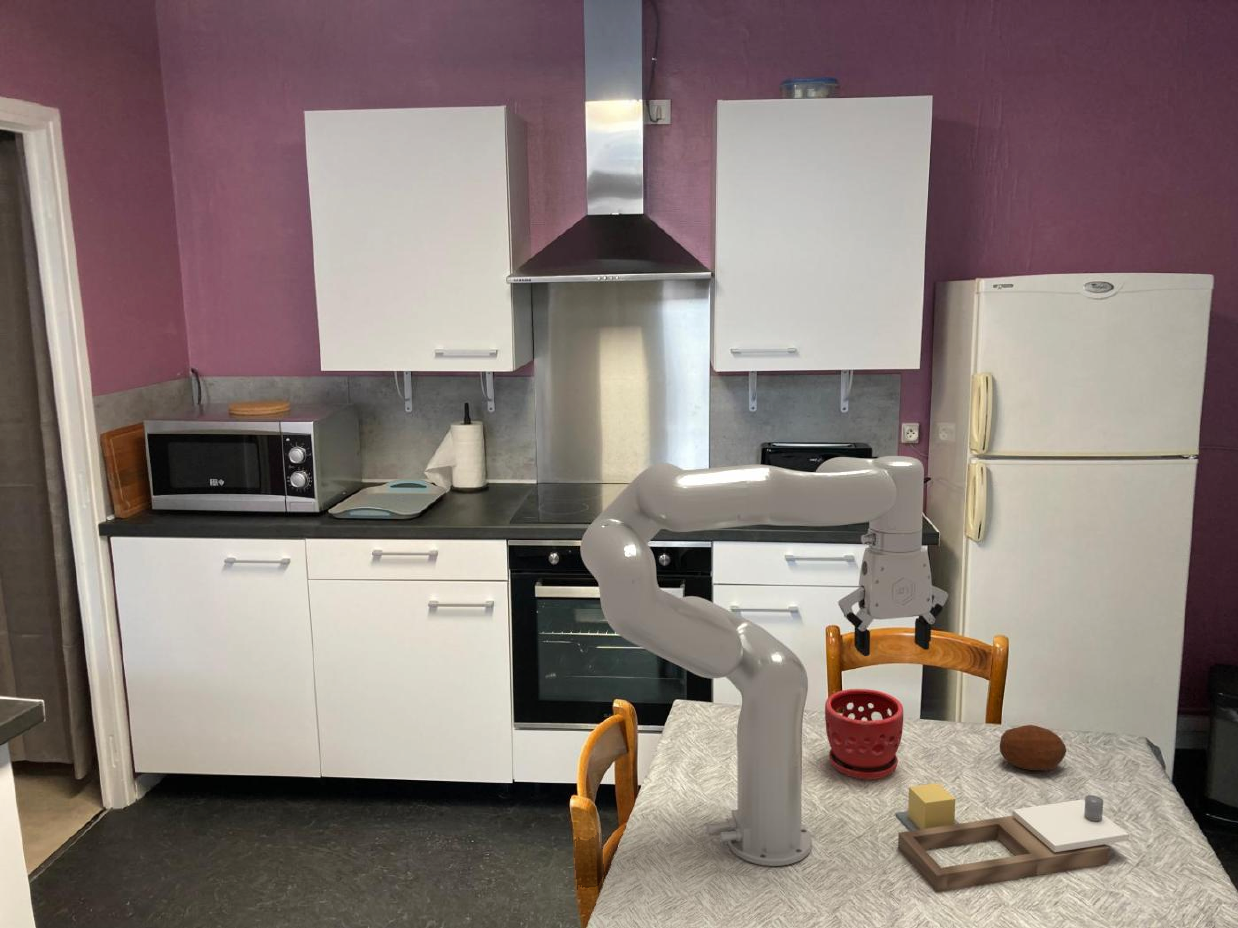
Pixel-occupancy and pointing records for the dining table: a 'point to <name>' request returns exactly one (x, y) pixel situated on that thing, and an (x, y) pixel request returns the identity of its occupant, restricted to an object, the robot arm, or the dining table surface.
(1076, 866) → the brown box
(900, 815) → the mat
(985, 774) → the dining table surface
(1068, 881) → the dining table surface
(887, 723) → the plant pot
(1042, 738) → the potato
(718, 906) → the dining table surface
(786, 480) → the robot arm
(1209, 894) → the dining table surface
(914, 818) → the block
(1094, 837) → the lid
